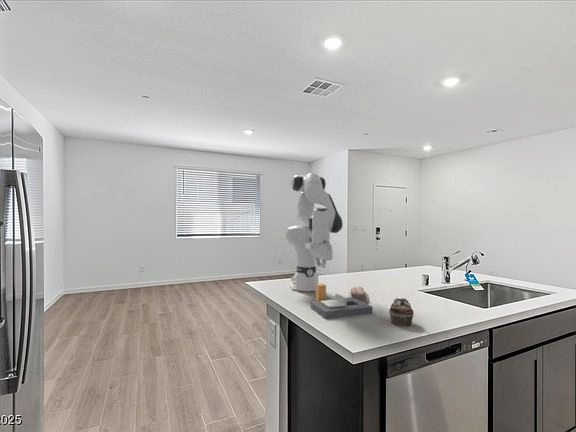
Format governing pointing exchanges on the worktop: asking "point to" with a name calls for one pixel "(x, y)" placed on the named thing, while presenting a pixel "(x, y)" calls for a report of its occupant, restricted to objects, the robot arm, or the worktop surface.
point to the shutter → (335, 302)
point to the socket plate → (342, 309)
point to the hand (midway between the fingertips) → (320, 266)
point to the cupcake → (401, 313)
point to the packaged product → (359, 294)
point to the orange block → (320, 292)
